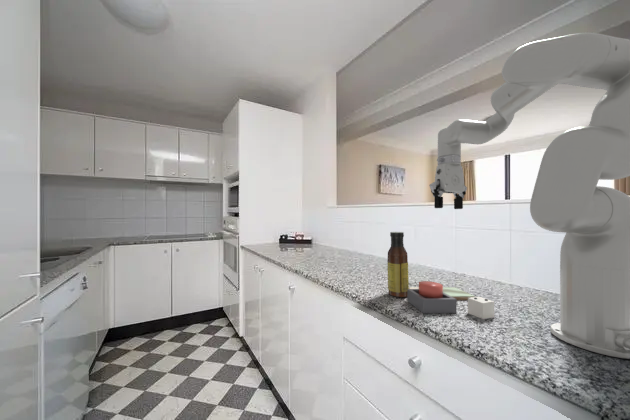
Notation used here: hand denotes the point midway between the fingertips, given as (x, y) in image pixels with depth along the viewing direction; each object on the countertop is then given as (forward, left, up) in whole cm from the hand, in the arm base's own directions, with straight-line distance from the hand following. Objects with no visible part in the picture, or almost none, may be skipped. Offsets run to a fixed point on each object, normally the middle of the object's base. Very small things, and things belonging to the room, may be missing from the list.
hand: (448, 208), depth 90 cm
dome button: (-20, +18, -25) cm, 37 cm away
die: (-26, +8, -28) cm, 39 cm away
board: (-10, +9, -28) cm, 31 cm away
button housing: (-20, +18, -28) cm, 39 cm away
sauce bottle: (-10, +23, -28) cm, 38 cm away
